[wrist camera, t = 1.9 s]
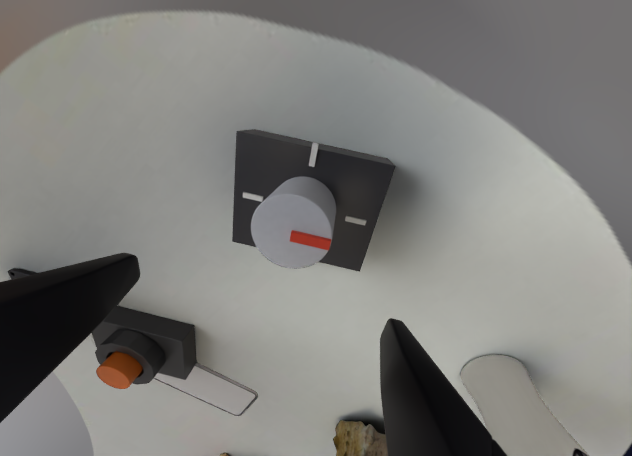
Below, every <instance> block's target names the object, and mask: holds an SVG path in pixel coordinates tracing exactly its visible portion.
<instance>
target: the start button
mask: <svg viewBox="0 0 632 456" xmlns="http://www.w3.org/2000/svg"><path fill="white" fill-rule="evenodd" d="M142 370H143V367H142V366H141V364H140V363H139V362H138V361H137V360H136V359H135V358H133V357H131V356H130V355H128V354H125V353H121V352H117V351H116V352H114V353H112V354H111V355H110V356H109V357H108V358H107V359H106V360H105V361H104V362H103V363H102V364H101V365H100V366H99V367H98V368H97V370H96V373H97V375H98V377H99V378H100V379H101V380H102V381H103V382H104V383H106V384H108V385H109V386H112V387H114V388H118V389H126V388H128V387H129V386H130V385H131V384H132V382H133V381H134V380H135V379H136V378H137V376H138V375H139V374H140V373H141V372H142Z"/></svg>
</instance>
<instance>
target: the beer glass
mask: <svg viewBox="0 0 632 456" xmlns="http://www.w3.org/2000/svg"><path fill="white" fill-rule="evenodd" d="M460 377H461V381H462V383H463V385H464V386H465V388H466V390H467V391H468V393H469V394H470V396H471V397H472V399H473V400H474V402H475V404H476V406H477V407H478V409H479V412H480V414H481V416H482V418H483V421H484V423H485V426H486V429H487V430H488V432H489V433H490V434H491V436H492V439H494V440H495V441H496V442H497V443H498V444H499V446H500V447H501V448H502V449H503V451H504V452H505V453H506V454H507V456H589V454H588V453H587V452H586V451H585V450H584V449H583V448H582V447H581V446H580V444H579V443H578V442H577V441H576V440H575V439H574V438H573V437H572V436H571V434H570V433H569V432H568V431H567V430H566V429H565V428H564V427H563V425H562V424H561V423H560V422H559V421H558V420H557V418H556V417H555V416H554V415H553V413H552V412H551V411H550V410H549V408H548V407H547V406H546V404H545V403H544V401H543V400H542V398H541V397H540V395H539V393H538V391H537V390H536V388H535V385H534V383H533V381H532V379H531V377H530V375H529V373H528V371H527V369H526V367H525V366H524V365H523V364H522V363H521V362H520V361H519V360H517V359H515V358H512V357H509V356H505V355H486V356H481V357H478V358H476V359H473V360H471V361H470V362H468V363H467V364H466V365H465V366H464V367H463V369H462V371H461V374H460Z"/></svg>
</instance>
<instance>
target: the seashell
mask: <svg viewBox="0 0 632 456" xmlns="http://www.w3.org/2000/svg"><path fill="white" fill-rule="evenodd" d="M335 430H336V436H335V437H334V438H333V440H334V444H335V447H336V449H337V454H336V456H388V453H387V444H386V435H385V434H380V433H378V432H377V431H376V430H375V429H374V427H373V426H372V425H371V424H369V425H367V426H365V425H364V424H363V423H362V422H361V421H359V422H354V421H351V422H350V421H342V420H341V421H340V422H339V423H338V425H337V426H336V428H335Z"/></svg>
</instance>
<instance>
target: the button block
mask: <svg viewBox="0 0 632 456" xmlns="http://www.w3.org/2000/svg"><path fill="white" fill-rule="evenodd" d="M92 335H93V338H94V341H95V344H96V347H97V350H96V352H95V354H96V357H97V360H98V362H99V363H100V364H102V363H103V362H104V361H105V360H106V359H107V358H108V357H109V356H110V355H111V354H112V353H114V352H116V351H117V352H121V353H125V354H128V355H130V356H131V357H133V358H135V359H136V360H137V361H138V362H139V363H140V364H141V366H142V367H143V370H142V372H141V373H140V374H139V375H138V376H137V378H136V379H135V380H134V381H133V382H132V383H133V384H146V383H149V382H150V381H151V380H152V379H153V378H154V377H155V376H156V374H157V373H160V374H164V375H168V376H172V377H175V378H179V379H183V380H186V379H187V377H188V376H189V374H190V372H191V371H192V369H193V368H194V366H195V364H196V349H195V331H194V325H190V324H186V323H182V322H178V321H174V320H170V319H166V318H162V317H158V316H154V315H150V314H146V313H142V312H138V311H134V310H130V309H126V308H122V307H118V306H116V307H115V308H114V309H113V311H112V312H111V313H110V314H109V315H108V316H107V317H106V318H105V319H104V321H103V322H102V323H101V324H100V325H99V326H98V327H97V328H96V329H95V330H94V331H93V332H92Z"/></svg>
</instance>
